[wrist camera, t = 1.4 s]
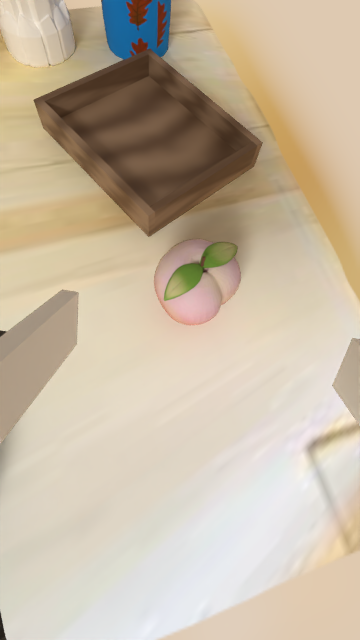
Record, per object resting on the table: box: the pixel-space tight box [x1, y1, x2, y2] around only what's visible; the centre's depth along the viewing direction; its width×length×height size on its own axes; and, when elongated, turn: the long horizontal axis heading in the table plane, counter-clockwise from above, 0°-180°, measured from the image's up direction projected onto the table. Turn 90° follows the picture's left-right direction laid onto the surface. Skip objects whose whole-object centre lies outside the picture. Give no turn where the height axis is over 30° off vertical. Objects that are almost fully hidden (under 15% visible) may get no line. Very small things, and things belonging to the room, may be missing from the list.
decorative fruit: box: [154, 239, 241, 325], centre depth 33 cm, size 9×8×10 cm
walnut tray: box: [34, 49, 263, 237], centre depth 44 cm, size 24×20×4 cm
